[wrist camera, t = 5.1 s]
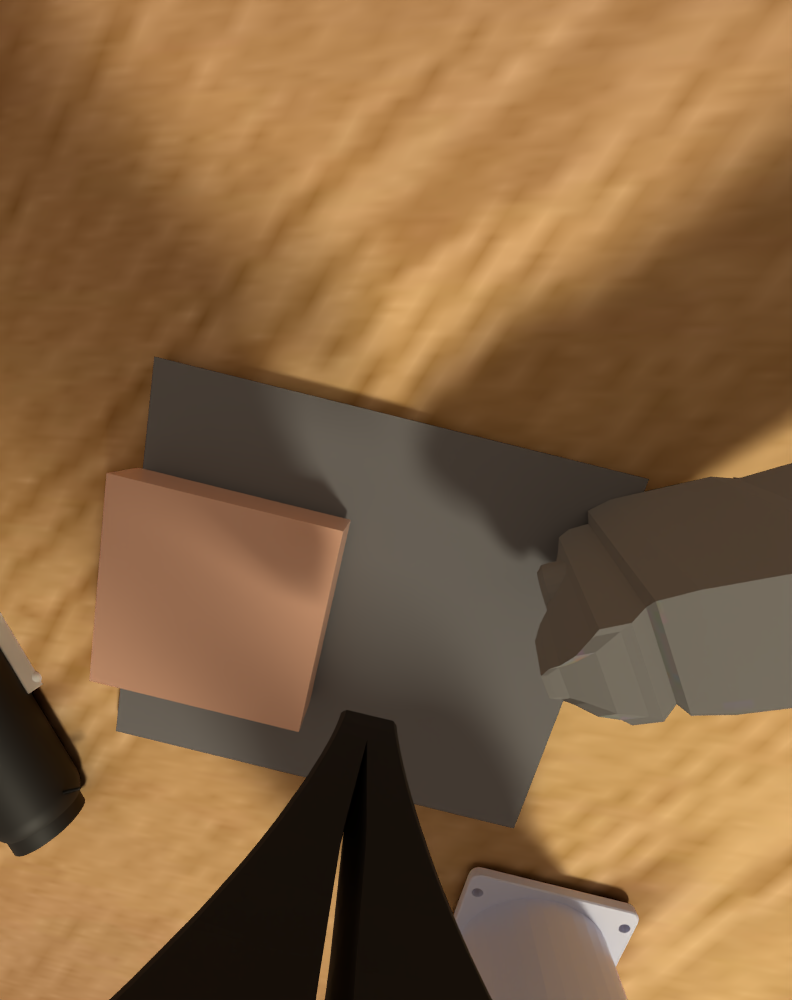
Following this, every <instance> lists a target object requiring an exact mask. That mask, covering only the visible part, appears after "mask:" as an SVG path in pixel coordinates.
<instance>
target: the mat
mask: <svg viewBox="0 0 792 1000" xmlns="http://www.w3.org/2000/svg"><path fill="white" fill-rule="evenodd" d="M143 469H147V470H151V471H155V472H159V473H163V474H167V475H171V476H175V477H179V478H183V479H187V480H191V481H195V482H199V483H203V484H207V485H211V486H215V487H219V488H223V489H228V490H232V491H236V492H240V493H244V494H248V495H252V496H256V497H260V498H264V499H268V500H272V501H276V502H280V503H284V504H288V505H292V506H296V507H300V508H304V509H309V510H313V511H317V512H321V513H325V514H329V515H333V516H337V517H341V518H345V519H349V520H351V521H350V525H349V530H348V534H347V539H346V543H345V548H344V552H343V556H342V561H341V565H340V570H339V574H338V579H337V583H336V588H335V592H334V597H333V601H332V605H331V610H330V614H329V619H328V623H327V628H326V632H325V637H324V641H323V646H322V650H321V654H320V659H319V663H318V668H317V672H316V677H315V681H314V686H313V690H312V695H311V699H310V703H309V706H308V709H307V711H306V714H305V717H304V719H303V722H302V725H301V727H300V730H299V732H296V731H292V730H288V729H284V728H280V727H276V726H272V725H268V724H264V723H260V722H256V721H251V720H247V719H243V718H239V717H235V716H231V715H227V714H223V713H219V712H215V711H211V710H207V709H203V708H198V707H194V706H190V705H186V704H182V703H178V702H174V701H170V700H166V699H162V698H158V697H154V696H150V695H145V694H141V693H137V692H133V691H129V690H125V689H121V688H120V698H119V708H118V718H117V727H116V731H119V732H123V733H127V734H131V735H135V736H139V737H143V738H147V739H151V740H155V741H159V742H163V743H167V744H172V745H176V746H180V747H184V748H188V749H192V750H196V751H200V752H204V753H208V754H212V755H216V756H221V757H225V758H229V759H233V760H237V761H241V762H245V763H249V764H253V765H257V766H261V767H265V768H269V769H274V770H278V771H282V772H286V773H290V774H294V775H298V776H302V777H307V775H308V774H309V772H310V771H311V769H312V768H313V766H314V764H315V763H316V761H317V760H318V758H319V757H320V755H321V753H322V752H323V750H324V748H325V746H326V744H327V743H328V741H329V739H330V737H331V735H332V733H333V731H334V729H335V727H336V725H337V723H338V720H339V717H340V714H341V712H343V711H345V710H350V711H354V712H359V713H363V714H367V715H371V716H375V717H379V718H384V719H388V720H392V721H394V722H395V724H396V726H397V733H398V740H399V745H400V751H401V756H402V760H403V765H404V769H405V773H406V777H407V781H408V785H409V789H410V792H411V796H412V799H413V803H414V804H416V805H420V806H425V807H429V808H433V809H437V810H441V811H445V812H449V813H453V814H457V815H461V816H465V817H469V818H473V819H478V820H482V821H486V822H490V823H494V824H498V825H502V826H506V827H510V828H514V827H515V824H516V821H517V819H518V816H519V814H520V811H521V808H522V806H523V803H524V801H525V798H526V796H527V793H528V790H529V788H530V785H531V783H532V780H533V777H534V775H535V772H536V770H537V767H538V765H539V762H540V759H541V757H542V754H543V752H544V749H545V746H546V744H547V741H548V739H549V736H550V733H551V731H552V728H553V726H554V723H555V721H556V718H557V715H558V713H559V710H560V708H561V705H562V702H563V700H560V699H550V698H549V696H548V693H547V690H546V688H545V685H544V683H543V680H542V678H541V674H540V668H539V662H538V656H537V651H536V645H535V639H536V636H537V632H538V629H539V626H540V623H541V621H542V619H543V617H544V615H545V613H546V611H547V609H546V606H545V603H544V599H543V596H542V593H541V589H540V585H539V581H538V577H537V572H538V570H539V568H540V566H541V565H543V564H547V563H551V562H555V561H556V560H557V554H558V543H559V537H560V536H561V535H562V534H564V533H565V532H566V531H568V530H569V529H572V528H575V527H579V526H582V525H586V524H588V510H590V509H592V508H594V507H596V506H598V505H600V504H602V503H604V502H606V501H608V500H610V499H614V498H619V497H623V496H628V495H632V494H637V493H641V492H644V490H645V488H646V485H647V483H648V480H649V479H647V478H643V477H639V476H634V475H630V474H626V473H622V472H618V471H614V470H610V469H606V468H602V467H598V466H594V465H590V464H586V463H582V462H578V461H574V460H570V459H566V458H562V457H558V456H554V455H550V454H546V453H542V452H538V451H534V450H530V449H525V448H521V447H517V446H513V445H509V444H505V443H501V442H497V441H493V440H489V439H485V438H481V437H477V436H473V435H469V434H465V433H461V432H457V431H453V430H449V429H445V428H441V427H437V426H433V425H429V424H425V423H421V422H416V421H412V420H408V419H404V418H400V417H396V416H392V415H388V414H384V413H380V412H376V411H372V410H368V409H364V408H360V407H356V406H352V405H348V404H344V403H340V402H336V401H332V400H328V399H324V398H320V397H316V396H312V395H307V394H303V393H299V392H295V391H291V390H287V389H283V388H279V387H275V386H271V385H267V384H263V383H259V382H255V381H251V380H247V379H243V378H239V377H235V376H231V375H227V374H223V373H219V372H215V371H211V370H207V369H203V368H198V367H194V366H190V365H186V364H182V363H178V362H174V361H170V360H166V359H162V358H158V357H154V365H153V375H152V385H151V395H150V404H149V414H148V424H147V434H146V444H145V453H144V463H143Z"/></svg>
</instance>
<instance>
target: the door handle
mask: <svg viewBox="0 0 792 1000" xmlns="http://www.w3.org/2000/svg"><path fill="white" fill-rule="evenodd" d="M41 680H42V677H41V675H40V674H39V673H38V672H36V671H35V670H34V668H33V667H32V665H31V663H30V661H29V660H28V658H27V656H26V655H25V653H24V651H23V650H22V648H21V646H20V645H19V643H18V641H17V639H16V638H15V636H14V634H13V633H12V631H11V629H10V628H9V626H8V624H7V623H6V621H5V619H4V617H3V616H2V614H1V612H0V841H1V842H3V843H7V844H8V846H9V847H10V849H11V850H12V852H13V853H14V855H15V856H24V855H27V854H29V853H31V852H33V851H35V850H37V849H39V848H40V847H42V846H43V845H45V844H46V843H48V842H49V841H50V840H52V839H53V838H54V837H56V836H57V835H58V834H59V833H60V832H62V831H63V830H64V829H65V828H66V827H67V826H68V825H69V824H70V823H71V822H72V821H73V820H74V819H75V817H76V816H77V815H78V814H79V812H80V811H81V809H82V808H83V806H84V803H85V798H84V797H83V795H82V793H81V792H80V789H81V787H80V776H79V773H78V770H77V768H76V767H75V765H74V763H73V762H72V760H71V758H70V757H69V755H68V753H67V752H66V750H65V748H64V747H63V745H62V743H61V742H60V740H59V738H58V737H57V735H56V733H55V732H54V730H53V728H52V727H51V725H50V723H49V722H48V720H47V718H46V717H45V715H44V713H43V712H42V710H41V708H40V707H39V705H38V703H37V702H36V700H35V698H34V697H33V695H32V693H31V692H32V691H34V690H35V689H37V688H38V687H40V686H41V685H43V683H42V682H41Z"/></svg>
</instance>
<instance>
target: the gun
mask: <svg viewBox="0 0 792 1000" xmlns="http://www.w3.org/2000/svg"><path fill="white" fill-rule="evenodd" d="M733 478H734V477H733ZM733 478H720V477H708V478H703V479H699V480H694V481H690V482H686V483H681V484H677V485H672V486H668V487H663V488H659V489H654V490H650V491H646V492H641V493H637V494H632V495H628V496H623V497H619V498H614V499H610V500H608V501H606V502H604V503H602V504H600V505H598V506H596V507H594V508H592V509H590V510H588V524H586V525H582V526H579V527H575V528H572V529H569V530H568V531H566V532H565V533H564V534H562V535H561V536H560V537H559V543H558V554H557V560H556V561H555V562H551V563H547V564H543V565H541V566H540V568H539V570H538V572H537V577H538V581H539V585H540V589H541V593H542V596H543V599H544V603H545V606H546V609H547V611H546V613H545V615H544V617H543V619H542V621H541V623H540V626H539V629H538V632H537V636H536V639H535V645H536V651H537V656H538V662H539V668H540V674H541V678H542V680H543V683H544V685H545V688H546V690H547V693H548V696H549V698H550V699H560V700H563V701H566V702H569V703H571V704H574V705H576V706H578V707H580V708H582V709H584V710H586V711H588V712H590V713H592V714H594V715H596V716H598V717H605V718H611V719H618V720H623V721H625V722H627V723H629V724H631V725H639V724H647V723H656V722H664V721H665V719H666V718H667V717H668V715H669V714H670V712H671V711H672V710H673V708H674V707H675V705H676V704H677V705H679V706H680V707H681V708H682V709H684V710H685V711H686V712H687V713H689V714H690V715H691V716H694V715H739V714H747V713H755V712H763V711H771V710H780V709H788V708H792V463H791V464H787V465H784V466H780V467H777V468H773V469H770V470H766V471H763V472H759V473H756V474H752V475H749V476H746V477H742V478H734V479H733Z"/></svg>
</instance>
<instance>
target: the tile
mask: <svg viewBox="0 0 792 1000" xmlns="http://www.w3.org/2000/svg"><path fill="white" fill-rule="evenodd" d="M350 521H351V520H349V519H345V518H341V517H337V516H333V515H329V514H325V513H321V512H317V511H313V510H309V509H304V508H300V507H296V506H292V505H288V504H284V503H280V502H276V501H272V500H268V499H264V498H260V497H256V496H252V495H248V494H244V493H240V492H236V491H232V490H228V489H223V488H219V487H215V486H211V485H207V484H203V483H199V482H195V481H191V480H187V479H183V478H179V477H175V476H171V475H167V474H163V473H159V472H155V471H151V470H147V469H142V468H133V469H127V470H121V471H115V472H109V473H106V485H105V498H104V510H103V522H102V534H101V546H100V559H99V571H98V583H97V595H96V607H95V619H94V632H93V644H92V656H91V668H90V680H89V681H93V682H97V683H101V684H105V685H109V686H113V687H117V688H121V689H125V690H129V691H133V692H137V693H141V694H145V695H150V696H154V697H158V698H162V699H166V700H170V701H174V702H178V703H182V704H186V705H190V706H194V707H198V708H203V709H207V710H211V711H215V712H219V713H223V714H227V715H231V716H235V717H239V718H243V719H247V720H251V721H256V722H260V723H264V724H268V725H272V726H276V727H280V728H284V729H288V730H292V731H296V732H299V730H300V727H301V725H302V722H303V719H304V717H305V714H306V711H307V709H308V706H309V703H310V699H311V695H312V690H313V686H314V681H315V677H316V672H317V668H318V663H319V659H320V654H321V650H322V646H323V641H324V637H325V632H326V628H327V623H328V619H329V614H330V610H331V605H332V601H333V597H334V592H335V588H336V583H337V579H338V574H339V570H340V565H341V561H342V556H343V552H344V548H345V543H346V539H347V534H348V530H349V525H350Z"/></svg>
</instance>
